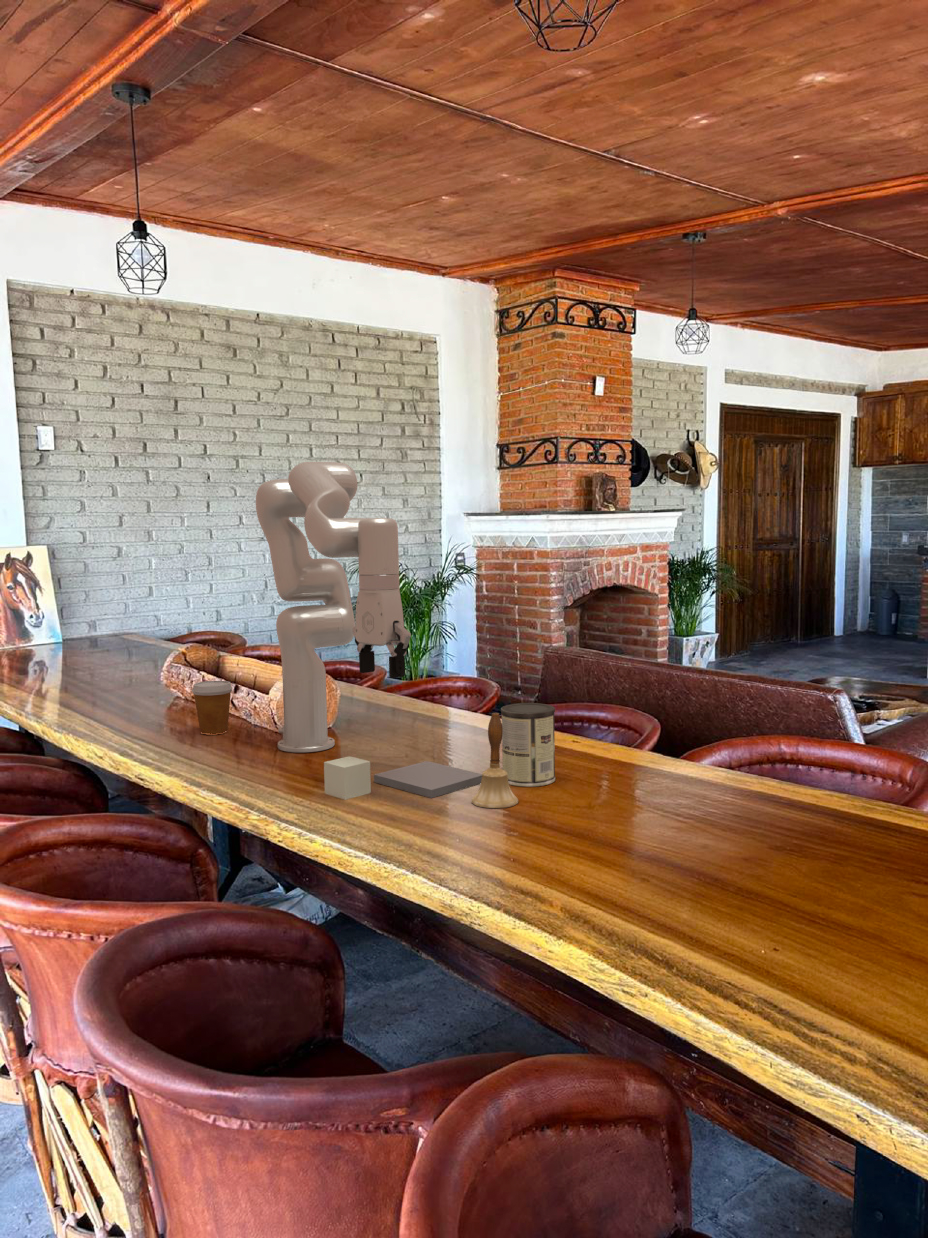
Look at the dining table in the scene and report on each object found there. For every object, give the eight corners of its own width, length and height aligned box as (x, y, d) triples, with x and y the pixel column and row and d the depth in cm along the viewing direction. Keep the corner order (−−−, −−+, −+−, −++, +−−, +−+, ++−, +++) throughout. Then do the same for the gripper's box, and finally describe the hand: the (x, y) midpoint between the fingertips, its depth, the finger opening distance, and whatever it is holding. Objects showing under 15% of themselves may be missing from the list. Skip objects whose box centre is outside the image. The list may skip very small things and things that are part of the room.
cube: (324, 794, 174) (323, 762, 173) (350, 787, 178) (349, 756, 177) (345, 800, 170) (344, 767, 169) (370, 793, 174) (370, 761, 173)
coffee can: (513, 770, 188) (512, 701, 187) (562, 776, 184) (562, 704, 182) (493, 784, 179) (492, 710, 177) (544, 789, 174) (544, 714, 173)
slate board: (374, 782, 181) (373, 774, 181) (427, 768, 191) (426, 761, 191) (431, 798, 170) (431, 790, 170) (484, 782, 180) (484, 774, 180)
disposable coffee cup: (242, 731, 228) (240, 682, 227) (212, 738, 220) (210, 688, 219) (215, 727, 233) (213, 679, 232) (185, 734, 225) (182, 685, 224)
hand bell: (494, 792, 173) (493, 707, 171) (528, 801, 167) (527, 713, 165) (461, 802, 167) (460, 713, 166) (495, 812, 161) (494, 720, 160)
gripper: (337, 584, 181) (340, 672, 182) (390, 586, 167) (392, 681, 169) (369, 582, 185) (372, 668, 187) (423, 584, 172) (425, 677, 174)
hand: (381, 674), depth 178 cm, fingers open, 9 cm apart
